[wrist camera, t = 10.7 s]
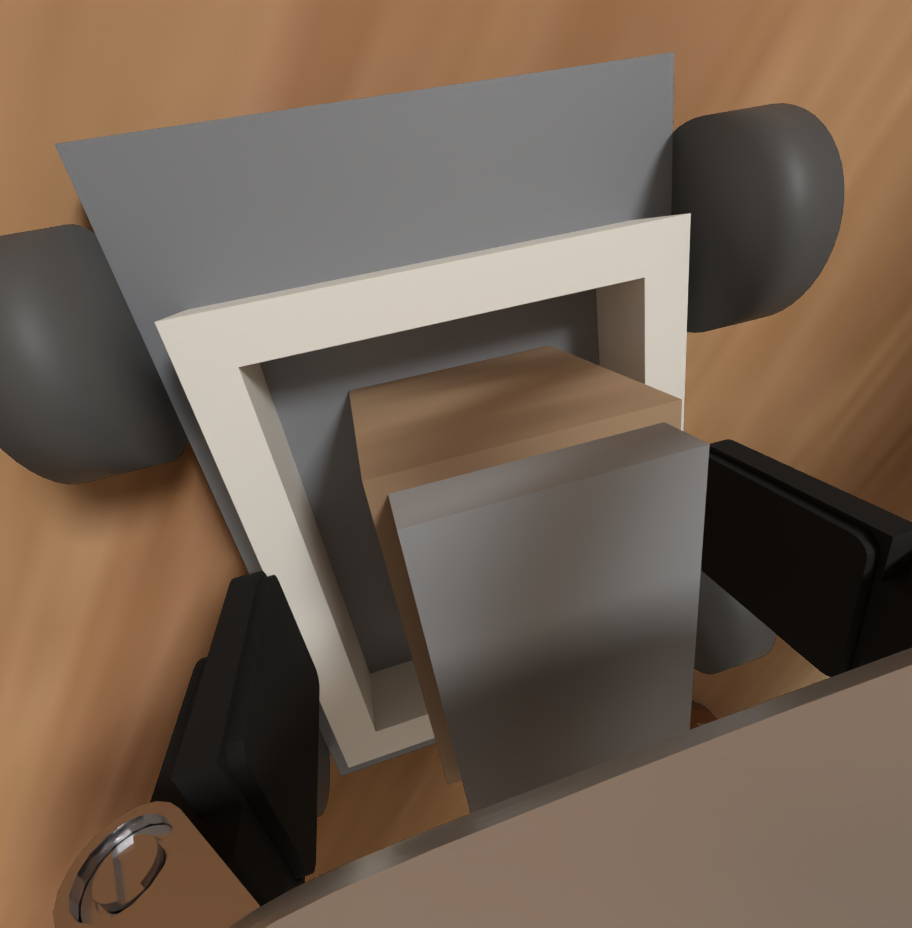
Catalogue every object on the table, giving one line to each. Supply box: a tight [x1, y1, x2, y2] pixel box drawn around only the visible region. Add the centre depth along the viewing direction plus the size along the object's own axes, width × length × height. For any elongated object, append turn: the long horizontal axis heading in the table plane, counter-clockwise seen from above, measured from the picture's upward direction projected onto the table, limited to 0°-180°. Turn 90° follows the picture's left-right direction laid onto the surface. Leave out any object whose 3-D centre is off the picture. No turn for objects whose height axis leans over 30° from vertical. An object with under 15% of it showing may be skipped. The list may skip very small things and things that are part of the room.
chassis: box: [0, 52, 844, 817], centre depth 12 cm, size 15×18×4 cm
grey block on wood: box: [349, 345, 710, 813], centre depth 10 cm, size 5×7×6 cm
